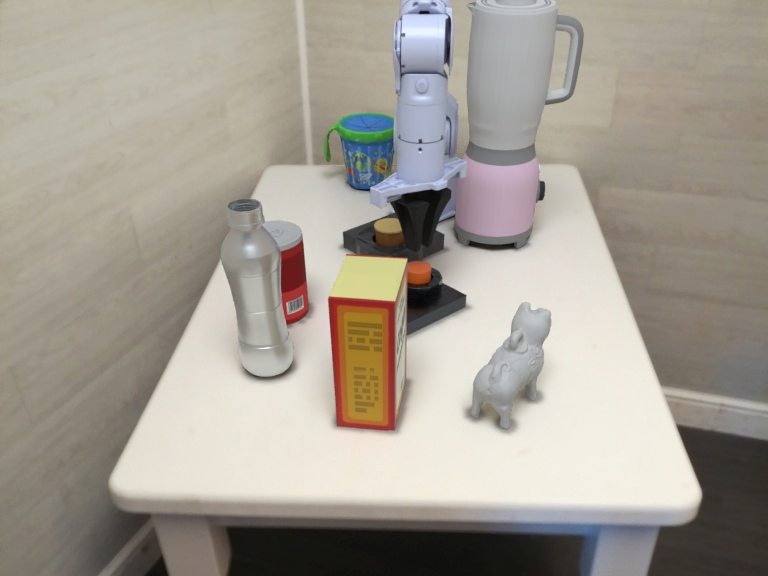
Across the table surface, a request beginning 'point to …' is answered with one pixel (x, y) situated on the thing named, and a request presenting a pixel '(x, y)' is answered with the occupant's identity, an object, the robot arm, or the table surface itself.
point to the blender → (509, 114)
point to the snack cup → (365, 147)
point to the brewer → (431, 302)
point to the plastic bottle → (256, 290)
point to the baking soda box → (369, 340)
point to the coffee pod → (389, 232)
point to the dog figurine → (513, 364)
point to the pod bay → (365, 244)
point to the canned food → (291, 268)
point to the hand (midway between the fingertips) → (418, 246)
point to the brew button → (419, 272)
